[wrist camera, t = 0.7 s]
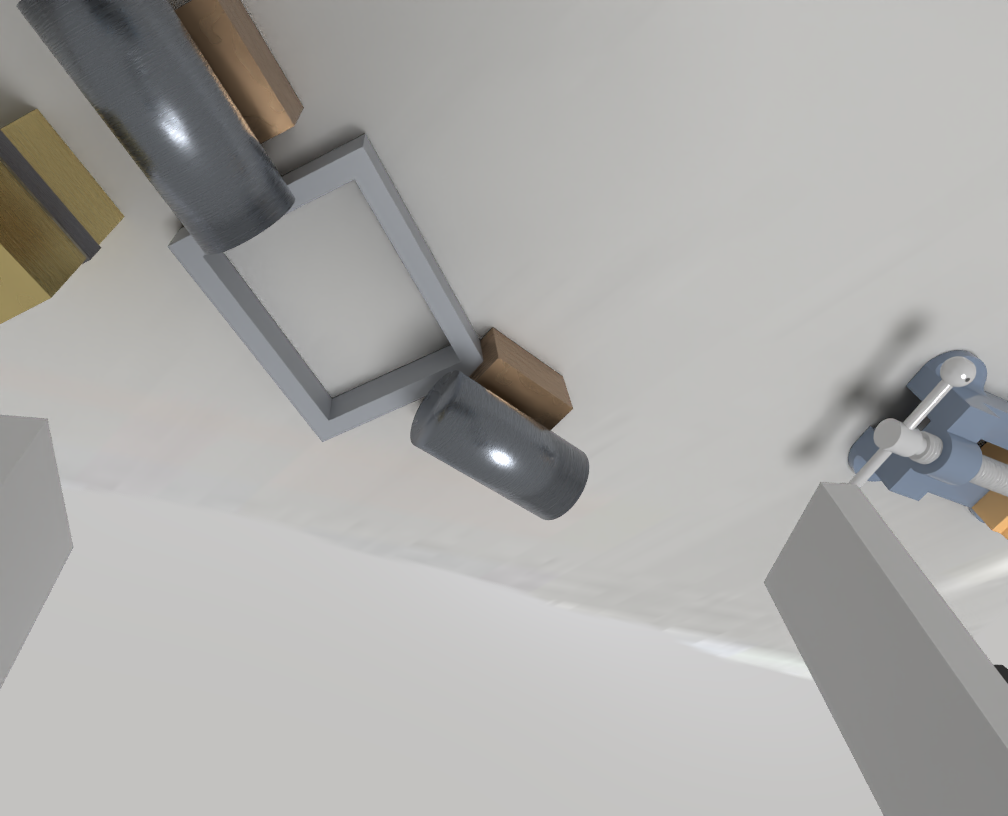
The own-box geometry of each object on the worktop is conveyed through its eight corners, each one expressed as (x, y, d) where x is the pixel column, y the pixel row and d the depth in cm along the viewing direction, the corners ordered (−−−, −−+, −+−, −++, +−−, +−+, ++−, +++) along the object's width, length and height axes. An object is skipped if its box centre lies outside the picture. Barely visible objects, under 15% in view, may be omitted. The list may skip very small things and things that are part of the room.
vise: (1115, 412, 45) (1210, 481, 40) (991, 525, 50) (1060, 601, 45) (909, 315, 40) (988, 381, 34) (792, 454, 45) (844, 531, 39)
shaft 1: (60, 2, 27) (-33, 30, 21) (194, -77, 26) (134, -70, 20) (212, 211, 32) (170, 279, 26) (329, 151, 31) (312, 208, 26)
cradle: (179, 229, 32) (167, 246, 31) (365, 133, 31) (363, 146, 29) (326, 419, 39) (322, 441, 38) (484, 348, 38) (487, 368, 36)
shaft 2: (399, 390, 39) (397, 476, 33) (470, 311, 36) (481, 388, 31) (511, 459, 42) (527, 547, 36) (582, 390, 40) (611, 472, 34)
